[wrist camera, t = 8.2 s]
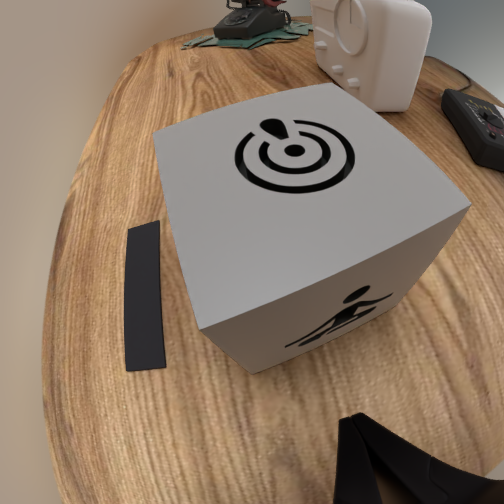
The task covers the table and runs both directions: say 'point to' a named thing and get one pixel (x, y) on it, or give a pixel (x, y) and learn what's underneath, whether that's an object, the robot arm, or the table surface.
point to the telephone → (253, 25)
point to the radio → (372, 48)
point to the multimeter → (477, 127)
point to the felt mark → (143, 300)
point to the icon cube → (299, 219)
